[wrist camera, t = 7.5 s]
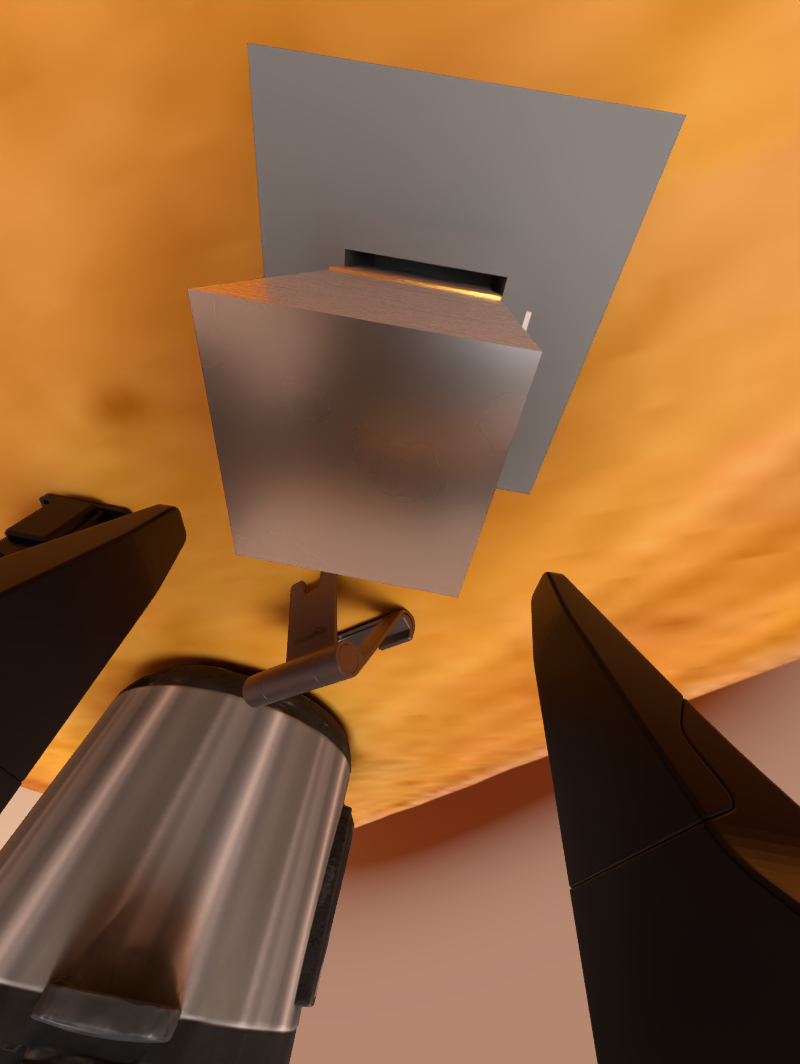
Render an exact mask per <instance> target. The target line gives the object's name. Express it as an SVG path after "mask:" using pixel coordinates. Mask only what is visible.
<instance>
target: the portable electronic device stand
mask: <svg viewBox="0 0 800 1064" xmlns="http://www.w3.org/2000/svg"><path fill="white" fill-rule="evenodd" d="M290 592H291V594H290V611H289V627H288V642H287V658H286V663H283V664H280V665H278V666H275V667H273V668H270V669H267V670H265V671H262V672H260V673H257V674H254V675H252V676H250V677H249V678H248V679H247V680H246V681H245V683H244V685H243V690H242V692H243V698H244V700H245V702H246V703H247V704H248V705H249V706H251V707H253V708H258V707H261V706H264V705H268V704H271V703H274V702H277V701H280V700H283V699H286V698H289V697H292V696H295V695H299V694H302V693H305V692H308V691H311V690H314V689H317V688H321V687H324V686H327V685H330V684H334V683H337V682H340V681H343V680H346V679H349V678H352V677H355V676H356V675H357V674H358V673H359V671H360V670H361V669H362V667H363V666H364V665H365V664H366V662H367V661H368V660H369V658H370V657H371V656H372V655H373V653H374V652H375V651H376V649H377V648H378V647H379V649H381V650H384V649H387V648H390V647H393V646H396V645H399V644H402V643H405V642H407V641H410V640H412V638H413V634H414V631H415V623H414V619H413V617H412V615H411V614H410V612H409V611H407V610H401V611H399V612H393V613H391V614H388V615H387V616H386V617H384V618H381V619H378V620H376V621H373V622H371V623H368V624H366V625H363V626H361V627H358V628H356V629H353V630H351V631H348V632H346V633H343V634H340V635H337V591H336V574H333V573H328V572H323V571H321V575H320V583H319V586H318V588H316V589H315V590H313V591H310V592H308V593H306V590H305V582H304V581H300V582H298V583H296V584H295V585H293V586H292V588H291V591H290Z"/></svg>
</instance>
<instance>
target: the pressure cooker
mask: <svg viewBox="0 0 800 1064" xmlns="http://www.w3.org/2000/svg"><path fill="white" fill-rule="evenodd" d="M249 677H250V676H247V675H244V674H240V673H237V672H234V671H230V670H227V669H224V668H220V667H214V666H204V665H178V666H177V667H175V668H172V669H170V670H168V671H166V672H165V673H163V674H162V673H157V674H155V675H149V676H145V677H142V678H141V679H139V680H137V681H136V682H134V683H133V684H130V685H129V686H128V687H127V688H125V689H124V690H123V691H122V692H120V694H119V695H118V696H117V697H116V698H115V699H114V701H113V702H112V703H111V704H110V706H109V707H108V709H107V710H106V711H105V713H104V714H103V715H102V717H101V718H100V719H99V721H98V722H97V723H96V725H95V726H94V727H93V729H92V730H91V731H90V733H89V734H88V735H87V737H86V738H85V739H84V740H83V742H82V743H81V744H80V746H79V747H78V748H77V750H76V751H75V752H74V754H73V755H72V756H71V758H70V759H69V760H68V762H67V763H66V764H65V766H64V767H63V768H62V770H61V771H60V772H59V774H58V775H57V776H56V778H55V779H54V780H53V782H52V783H51V784H50V785H49V787H48V788H47V789H46V791H45V792H44V793H43V795H42V796H41V797H40V799H39V800H38V801H37V803H36V804H35V805H34V807H33V808H32V809H31V811H30V812H29V813H28V815H27V816H26V817H25V819H24V820H23V821H22V823H21V824H20V825H19V827H18V828H17V829H16V831H15V832H14V834H13V835H12V836H11V837H10V839H9V840H8V841H7V843H6V844H5V845H4V847H3V848H2V849H1V850H0V1064H289V1061H290V1057H291V1052H292V1048H293V1043H294V1038H295V1033H296V1029H297V1027H298V1024H299V1018H300V1013H301V1008H302V1007H310V1006H313V1005H314V1002H315V999H316V994H317V989H318V984H319V980H320V975H321V970H322V966H323V962H324V957H325V953H326V949H327V946H328V941H329V936H330V931H331V927H332V923H333V918H334V914H335V910H336V905H337V901H338V897H339V892H340V889H341V885H342V880H343V876H344V872H345V867H346V863H347V859H348V854H349V849H350V845H351V840H352V835H353V830H354V822H353V819H352V815H351V811H352V809H351V808H350V807H348V806H346V805H344V800H345V795H346V791H347V786H348V782H349V777H350V772H351V755H350V748H349V744H348V741H347V738H346V735H345V733H344V731H343V729H342V728H341V726H340V725H339V723H338V722H337V721H336V720H335V719H334V718H333V717H332V716H331V715H330V714H329V713H328V712H327V711H326V710H324V709H323V708H322V707H321V706H319V705H318V704H316V703H315V702H314V701H311V700H310V699H309V698H307V697H305V696H304V695H302V694H299V695H295V696H292V697H289V698H286V699H283V700H280V701H277V702H274V703H271V704H268V705H264V706H261V707H258V708H253V707H251V706H249V705H248V704H247V703H246V702H245V700H244V698H243V692H242V690H243V685H244V683H245V681H246V680H247V679H248V678H249Z"/></svg>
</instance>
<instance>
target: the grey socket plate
mask: <svg viewBox="0 0 800 1064" xmlns="http://www.w3.org/2000/svg"><path fill="white" fill-rule="evenodd" d="M247 45H248V58H249V72H250V86H251V100H252V113H253V127H254V141H255V155H256V168H257V182H258V196H259V209H260V223H261V237H262V251H263V264H264V278H269V277H277V276H284V275H292V274H299V273H307V272H314V271H322V270H329V266H336V265H339V266H345V267H351V266H359V265H366V266H372V267H378V268H383V269H389V270H395V271H400V272H406V273H412V274H418V275H423V276H429V277H435V278H440V279H446V280H452V281H457V282H463V283H469V284H474V285H480V286H486V287H490V288H491V289H492V291H493V292H494V293H499V294H500V295H501V296H502V298H501V302H502V303H503V304H504V305H505V307H506V308H507V309H508V310H509V311H510V313H511V314H512V315H513V316H514V318H515V319H516V320H517V321H518V322H519V324H520V325H521V326H522V327H523V329H524V330H525V331H526V332H527V333H528V335H529V336H530V337H531V338H532V340H533V341H534V342H535V343H536V344H537V346H538V347H539V348H540V349H541V351H542V355H541V358H540V361H539V364H538V366H537V369H536V372H535V375H534V378H533V381H532V384H531V387H530V390H529V393H528V395H527V398H526V401H525V404H524V407H523V410H522V413H521V416H520V419H519V422H518V425H517V427H516V430H515V433H514V436H513V439H512V442H511V445H510V448H509V451H508V454H507V456H506V459H505V462H504V465H503V468H502V471H501V474H500V477H499V480H498V483H497V486H496V488H498V489H503V490H508V491H514V492H519V493H525V494H530V491H531V489H532V486H533V484H534V482H535V479H536V477H537V474H538V472H539V469H540V467H541V465H542V462H543V460H544V457H545V455H546V453H547V450H548V448H549V445H550V443H551V440H552V438H553V436H554V433H555V431H556V428H557V426H558V424H559V421H560V419H561V416H562V414H563V411H564V409H565V407H566V404H567V402H568V399H569V397H570V395H571V392H572V390H573V387H574V385H575V382H576V380H577V378H578V375H579V373H580V370H581V368H582V366H583V363H584V361H585V358H586V356H587V354H588V351H589V349H590V346H591V344H592V341H593V339H594V337H595V334H596V332H597V329H598V327H599V325H600V322H601V320H602V317H603V315H604V312H605V310H606V308H607V305H608V303H609V300H610V298H611V296H612V293H613V291H614V288H615V286H616V283H617V281H618V279H619V276H620V274H621V271H622V269H623V267H624V264H625V262H626V259H627V257H628V254H629V252H630V250H631V247H632V245H633V242H634V240H635V238H636V235H637V233H638V230H639V228H640V225H641V223H642V221H643V218H644V216H645V213H646V211H647V209H648V206H649V204H650V201H651V199H652V197H653V194H654V192H655V189H656V187H657V184H658V182H659V180H660V177H661V175H662V172H663V170H664V168H665V165H666V163H667V160H668V158H669V155H670V153H671V151H672V148H673V146H674V143H675V141H676V139H677V136H678V134H679V131H680V129H681V126H682V124H683V122H684V119H685V117H686V115H683V114H677V113H671V112H665V111H659V110H653V109H647V108H641V107H635V106H629V105H623V104H617V103H611V102H604V101H598V100H592V99H586V98H580V97H574V96H568V95H562V94H556V93H550V92H544V91H538V90H532V89H525V88H519V87H513V86H507V85H501V84H495V83H489V82H483V81H477V80H471V79H465V78H459V77H453V76H446V75H440V74H434V73H428V72H422V71H416V70H410V69H404V68H398V67H392V66H386V65H380V64H374V63H367V62H361V61H355V60H349V59H343V58H337V57H331V56H325V55H319V54H313V53H307V52H301V51H295V50H288V49H282V48H276V47H270V46H264V45H258V44H252V43H247Z"/></svg>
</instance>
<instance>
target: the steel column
mask: <svg viewBox="0 0 800 1064" xmlns="http://www.w3.org/2000/svg"><path fill="white" fill-rule="evenodd" d="M188 294H189V299H190V305H191V310H192V316H193V321H194V327H195V332H196V338H197V343H198V349H199V354H200V360H201V365H202V371H203V376H204V382H205V387H206V393H207V398H208V404H209V410H210V415H211V421H212V426H213V432H214V437H215V443H216V448H217V454H218V459H219V465H220V470H221V476H222V481H223V487H224V492H225V498H226V503H227V509H228V514H229V520H230V525H231V531H232V536H233V542H234V547H235V553H236V555H240V556H245V557H251V558H256V559H261V560H266V561H271V562H276V563H282V564H287V565H292V566H297V567H302V568H307V569H313V570H318V571H323V572H328V573H333V574H339V575H344V576H349V577H354V578H359V579H364V580H370V581H375V582H380V583H385V584H390V585H395V586H401V587H406V588H411V589H416V590H421V591H426V592H432V593H437V594H442V595H447V596H452V597H458V596H459V593H460V590H461V587H462V584H463V581H464V579H465V576H466V573H467V570H468V567H469V564H470V561H471V558H472V555H473V552H474V549H475V547H476V544H477V541H478V538H479V535H480V532H481V529H482V526H483V523H484V520H485V518H486V515H487V512H488V509H489V506H490V503H491V500H492V497H493V494H494V491H495V488H496V486H497V483H498V480H499V477H500V474H501V471H502V468H503V465H504V462H505V459H506V456H507V454H508V451H509V448H510V445H511V442H512V439H513V436H514V433H515V430H516V427H517V425H518V422H519V419H520V416H521V413H522V410H523V407H524V404H525V401H526V398H527V395H528V393H529V390H530V387H531V384H532V381H533V378H534V375H535V372H536V369H537V366H538V364H539V361H540V358H541V355H542V351H541V349H540V348H539V347H538V346H537V344H536V343H535V342H534V341H533V340H532V338H531V337H530V336H529V335H528V333H527V332H526V331H525V330H524V329H523V327H522V326H521V325H520V324H519V322H518V321H517V320H516V319H515V318H514V316H513V315H512V314H511V313H510V311H509V310H508V309H507V308H506V307H505V305H504V304H503V303H502V302H501V298H502V296H501V295H500V294H499V293H494V292H493V291H492V289H491V288H490V287H486V286H480V285H474V284H469V283H463V282H457V281H452V280H446V279H440V278H435V277H429V276H423V275H418V274H412V273H406V272H400V271H395V270H389V269H383V268H378V267H372V266H366V265H359V266H351V267H345V266H339V265H336V266H329V270H322V271H314V272H307V273H299V274H292V275H284V276H277V277H269V278H262V279H254V280H247V281H239V282H232V283H224V284H217V285H209V286H202V287H194V288H188Z"/></svg>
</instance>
